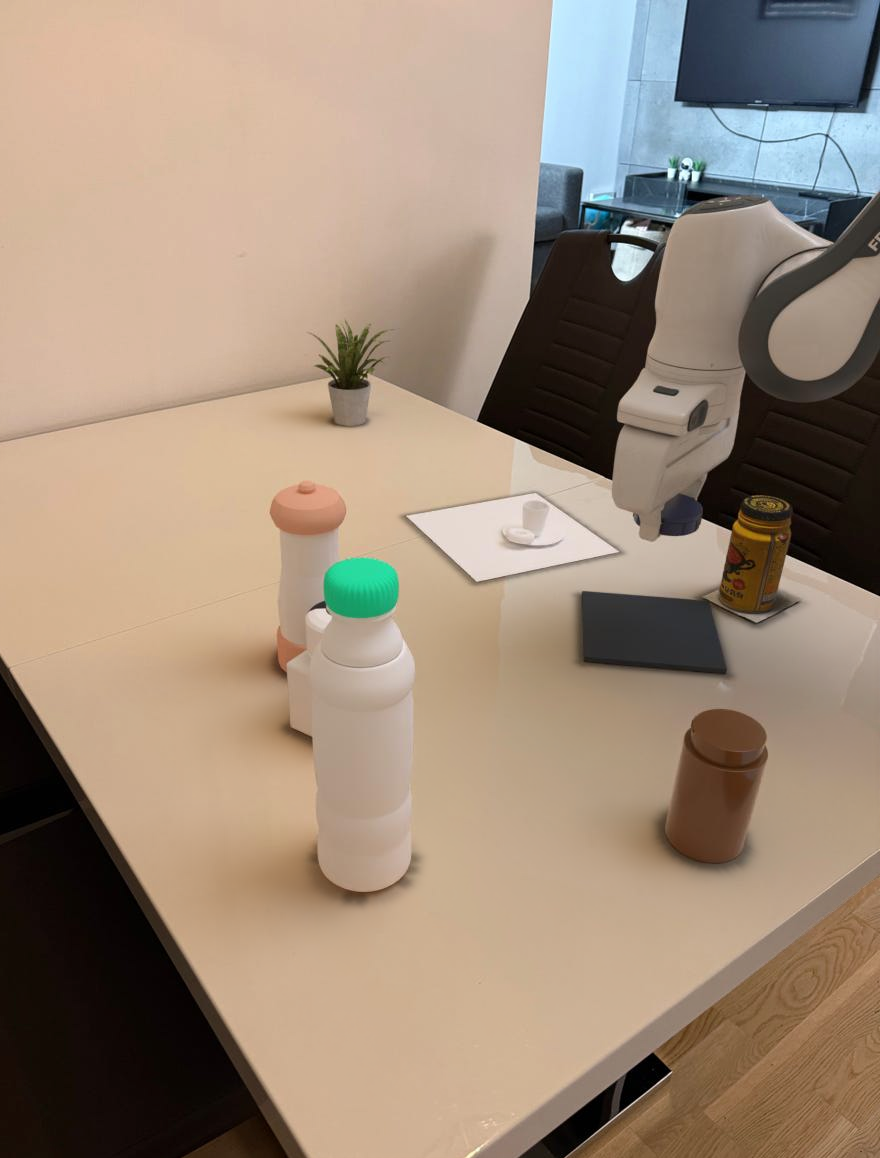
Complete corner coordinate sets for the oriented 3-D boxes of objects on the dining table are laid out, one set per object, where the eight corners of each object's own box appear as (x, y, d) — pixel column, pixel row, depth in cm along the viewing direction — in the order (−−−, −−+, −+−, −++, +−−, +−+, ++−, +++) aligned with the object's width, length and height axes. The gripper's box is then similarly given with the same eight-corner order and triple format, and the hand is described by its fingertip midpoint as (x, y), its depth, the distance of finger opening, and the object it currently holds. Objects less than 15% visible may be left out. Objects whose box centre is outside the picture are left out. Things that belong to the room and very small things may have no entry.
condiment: (701, 598, 108) (721, 500, 101) (746, 577, 112) (768, 482, 106) (756, 624, 103) (780, 523, 96) (801, 602, 107) (827, 503, 101)
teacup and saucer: (516, 554, 116) (518, 524, 114) (485, 528, 122) (487, 499, 120) (576, 542, 119) (580, 512, 117) (543, 517, 126) (546, 489, 123)
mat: (708, 605, 106) (708, 600, 106) (725, 673, 94) (727, 668, 94) (581, 595, 108) (582, 590, 108) (583, 661, 96) (584, 656, 96)
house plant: (417, 422, 158) (419, 321, 149) (357, 442, 149) (356, 337, 140) (357, 402, 166) (356, 306, 157) (297, 421, 157) (293, 320, 149)
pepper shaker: (346, 637, 99) (342, 465, 89) (355, 676, 93) (352, 495, 83) (276, 643, 98) (264, 469, 88) (281, 682, 92) (268, 500, 82)
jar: (736, 813, 77) (763, 708, 71) (749, 867, 72) (780, 758, 66) (661, 806, 78) (682, 702, 72) (669, 859, 73) (693, 751, 67)
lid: (619, 515, 96) (622, 499, 94) (666, 502, 98) (669, 486, 97) (665, 542, 91) (668, 525, 90) (713, 527, 94) (717, 510, 93)
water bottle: (402, 903, 69) (407, 602, 55) (307, 889, 70) (290, 591, 56) (417, 835, 74) (425, 549, 61) (330, 824, 75) (319, 540, 62)
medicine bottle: (337, 691, 91) (334, 581, 85) (398, 717, 88) (399, 605, 81) (288, 728, 86) (281, 614, 80) (350, 757, 83) (347, 640, 76)
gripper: (704, 358, 96) (681, 485, 103) (608, 407, 82) (589, 550, 90) (766, 370, 93) (737, 501, 100) (676, 423, 79) (651, 570, 86)
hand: (666, 525), depth 95 cm, fingers closed on lid, 6 cm apart
